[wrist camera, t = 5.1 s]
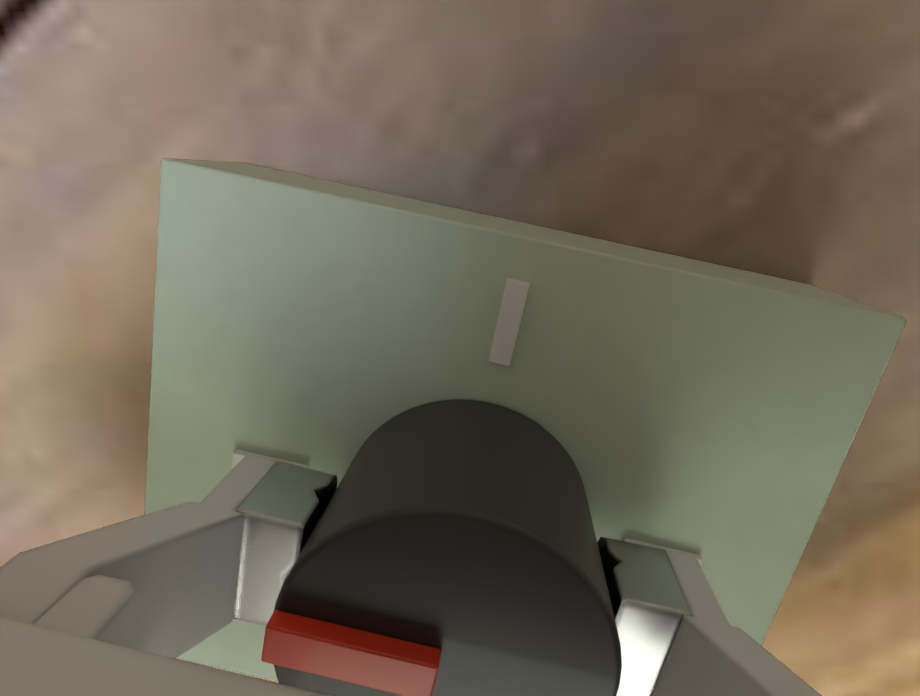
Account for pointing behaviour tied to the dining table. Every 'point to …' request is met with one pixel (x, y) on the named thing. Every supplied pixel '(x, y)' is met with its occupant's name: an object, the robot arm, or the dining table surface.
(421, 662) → the dial
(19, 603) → the robot arm
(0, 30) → the dining table surface
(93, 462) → the dining table surface
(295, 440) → the panel
